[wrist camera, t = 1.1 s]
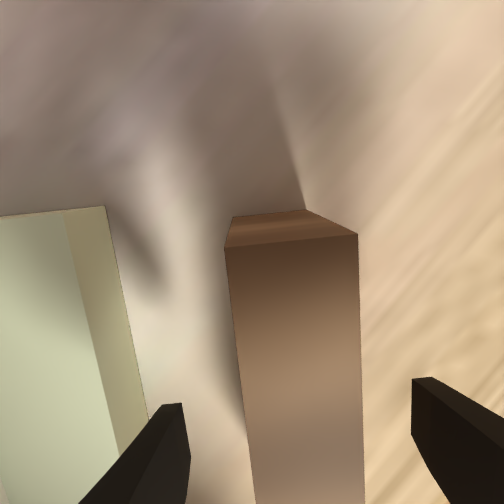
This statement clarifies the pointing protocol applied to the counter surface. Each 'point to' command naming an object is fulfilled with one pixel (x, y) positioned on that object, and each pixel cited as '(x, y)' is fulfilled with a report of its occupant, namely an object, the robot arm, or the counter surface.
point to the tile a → (3, 494)
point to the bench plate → (63, 357)
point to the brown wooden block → (299, 355)
